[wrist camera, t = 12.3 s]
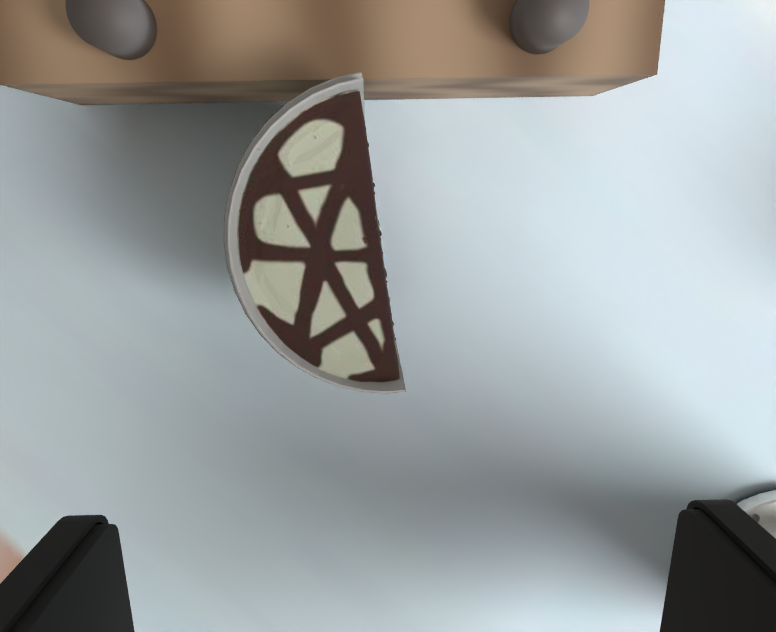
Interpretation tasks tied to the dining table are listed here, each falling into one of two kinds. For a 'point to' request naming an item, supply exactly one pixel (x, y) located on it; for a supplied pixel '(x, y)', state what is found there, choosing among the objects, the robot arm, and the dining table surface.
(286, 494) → the dining table surface
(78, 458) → the dining table surface
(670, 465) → the dining table surface
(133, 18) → the bar
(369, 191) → the food container
